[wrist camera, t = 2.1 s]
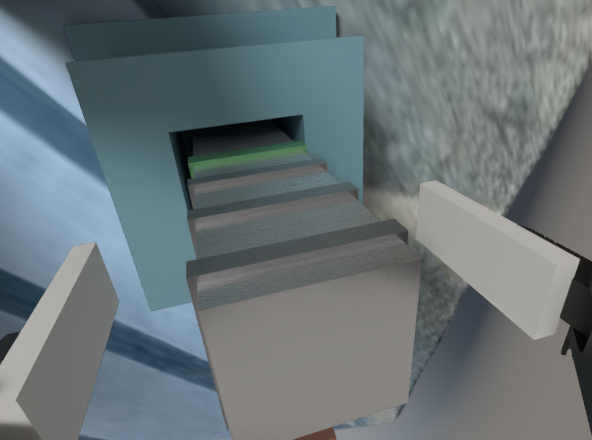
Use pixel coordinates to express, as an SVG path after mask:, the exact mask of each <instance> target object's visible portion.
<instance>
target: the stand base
mask: <svg viewBox="0 0 592 440" xmlns="http://www.w3.org/2000/svg"><path fill="white" fill-rule="evenodd" d="M63 26H64V29H65V32H66V35H67V38H68V41H69V44H70V47H71V50H72V53H73V56H74V59H75V62H68V63H66V66H67V69H68V72H69V75H70V78H71V81H72V84H73V87H74V89H75V92H76V95H77V98H78V101H79V104H80V107H81V110H82V113H83V116H84V118H85V121H86V124H87V127H88V130H89V133H90V136H91V139H92V142H93V145H94V148H95V150H96V153H97V156H98V159H99V162H100V165H101V168H102V171H103V174H104V177H105V179H106V182H107V185H108V188H109V191H110V194H111V197H112V200H113V203H114V206H115V208H116V211H117V214H118V217H119V220H120V223H121V226H122V229H123V232H124V235H125V237H126V240H127V243H128V246H129V249H130V252H131V255H132V258H133V261H134V264H135V266H136V269H137V272H138V275H139V278H140V281H141V284H142V287H143V290H144V293H145V295H146V298H147V301H148V304H149V307H150V310H151V311H155V310H159V309H164V308H168V307H173V306H177V305H181V304H186V303H190V302H192V299H191V295H190V291H189V287H188V284H187V280H186V261H191V260H196V255H195V250H194V246H193V242H192V238H191V234H190V230H189V226H188V222H187V211H188V210H193V206H192V202H191V198H190V193H189V189H188V179H191V174H190V170H189V165H188V157H192V156H193V129H198V128H205V127H213V126H220V125H228V124H235V123H243V122H250V121H258V120H265V119H269V120H270V121H271V122H273V123H274V124H275V125H276V126H277V127H278V128H279V129H280V130H281V131H282V132H284V133H285V134H286V135H287V136H288V137H289V138H290V139H291V140H292V141H300V140H301V141H302V142H303V143H305V144H306V145H307V154H308V155H309V156H310V157H311V158H312V159H317V158H322V159H324V160H325V161H326V162H327V169H328V173H329V174H330V175H331V176H332V177H333V178H334V179H335V180H336V181H337V182H338V183H345V182H351V183H352V184H353V185H355V186H356V187H357V188H358V189H359V202H360V203H361V204H363V115H364V36H351V37H336V6H326V7H312V8H298V9H284V10H270V11H256V12H243V13H229V14H215V15H201V16H187V17H173V18H159V19H146V20H132V21H118V22H104V23H90V24H76V25H63ZM293 440H336V436H335V433H334V430H333V427H330V428H327V429H324V430H321V431H318V432H315V433H312V434H308V435H305V436H302V437H299V438H296V439H293Z"/></svg>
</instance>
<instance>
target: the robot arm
mask: <svg viewBox="0 0 592 440" xmlns="http://www.w3.org/2000/svg"><path fill="white" fill-rule="evenodd" d="M416 239H417V240H418V241H419V242H421V243H422V244H423V245H424V246H425V247H426V248H428V249H429V250H430V251H431V252H432V253H433V254H435V255H436V256H437V257H438V258H439V259H440V260H442V261H443V262H444V263H445V264H446V265H447V266H449V267H450V268H451V269H452V270H453V271H454V272H456V273H457V274H458V275H459V276H460V277H461V278H463V279H464V280H465V281H466V282H467V283H468V284H470V285H471V286H472V287H473V288H474V289H475V290H476V291H478V292H479V293H480V294H481V295H483V297H485V298H486V299H487V300H488V301H489V302H490V303H492V304H493V305H494V306H495V307H496V308H497V309H499V310H500V311H501V312H502V313H503V314H505V315H506V316H507V317H508V318H509V319H510V320H511V321H513V322H514V323H515V324H516V325H517V326H518V327H520V328H521V329H522V330H523V331H524V332H525V333H527V334H528V335H529V336H530V337H531V338H532V339H534V340H536V339H539V338H543V337H546V336H549V335H553V334H555V332H556V329H557V326H558V323H559V320H560V318H561V319H563V320H564V321H565V322H566V323H568V324H569V325H570V327H569V331H568V333H567V336H566V339H565V341H564V344H563V347H562V351H561V354H562V355H566V352H567V350H568V349H570V348H571V351H572V357H573V360H574V364H575V368H576V372H577V376H578V380H579V385H580V389H581V393H582V397H583V401H584V405H585V410H586V413H587V417H588V422H589V426H590V430H591V434H592V261H590V260H588V259H587V258H585V257H583V256H581V255H579V254H577V253H575V252H574V251H572V250H570V249H568V248H566V247H564V246H562V245H560V244H558V243H555V242H554V241H553V240H551V239H549V238H547V237H544V236H543V235H542V234H540V233H538V232H536V231H534V230H532V229H531V228H528V227H524V226H521V225H518V224H515V223H513V222H511V221H509V220H508V219H506V218H504V217H502V216H500V215H498V214H497V213H495V212H493V211H491V210H489V209H487V208H486V207H484V206H482V205H480V204H478V203H476V202H475V201H473V200H471V199H469V198H467V197H465V196H464V195H462V194H460V193H458V192H456V191H455V190H453V189H451V188H449V187H447V186H445V185H444V184H442V183H440V182H438V181H431V182H425V183H420V195H419V207H418V218H417V230H416ZM118 304H119V300H118V298H117V295H116V293H115V290H114V287H113V285H112V282H111V280H110V277H109V275H108V272H107V269H106V267H105V264H104V262H103V259H102V257H101V254H100V252H99V249H98V246H97V244H96V242H94V243H89V244H83V245H78V246H73V247H72V249H71V251H70V252H69V254H68V255H67V257H66V259H65V260H64V262H63V264H62V265H61V267H60V268H59V270H58V272H57V273H56V275H55V277H54V278H53V280H52V282H51V283H50V285H49V286H48V288H47V290H46V291H45V293H44V295H43V296H42V298H41V299H40V301H39V303H38V304H37V306H36V308H35V309H34V311H33V313H32V314H31V316H30V317H29V319H28V321H27V322H26V324H25V326H24V327H23V329H22V330H21V332H16V333H12V334H7V335H6V336H5V337H4V338H3V339H1V340H0V440H78V438H79V435H80V431H81V428H82V425H83V421H84V418H85V414H86V411H87V408H88V404H89V401H90V398H91V394H92V391H93V388H94V384H95V381H96V377H97V374H98V371H99V367H100V364H101V361H102V357H103V354H104V351H105V347H106V344H107V341H108V337H109V334H110V330H111V327H112V324H113V320H114V317H115V314H116V310H117V307H118Z"/></svg>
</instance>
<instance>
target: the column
mask: <svg viewBox="0 0 592 440" xmlns="http://www.w3.org/2000/svg"><path fill="white" fill-rule="evenodd" d="M188 165H189V170H190V174H191V179H188V189H189V193H190V198H191V202H192V206H193V210H188V211H187V222H188V226H189V230H190V234H191V238H192V242H193V246H194V250H195V255H196V260H191V261H186V280H187V284H188V287H189V291H190V295H191V299H192V302H193V306H194V310H195V313H196V317H197V321H198V324H199V328H200V332H201V335H202V339H203V343H204V346H205V350H206V354H207V358H208V361H209V365H210V369H211V372H212V376H213V380H214V383H215V387H216V391H217V394H218V398H219V402H220V405H221V409H222V413H223V417H224V420H225V424H226V428H227V430H230V433H231V437H232V440H293V439H296V438H299V437H302V436H305V435H308V434H312V433H315V432H318V431H321V430H324V429H327V428H330V427H333V426H337V425H340V424H343V423H346V422H349V421H352V420H355V419H358V418H362V417H365V416H368V415H371V414H374V413H377V412H380V411H383V410H387V409H390V408H393V407H396V406H399V405H402V404H405V403H408V397H409V387H410V377H411V367H412V357H413V347H414V337H415V327H416V317H417V307H418V296H419V286H420V276H421V266H422V258H421V257H420V256H419V255H417V254H416V253H415V252H414V251H413V250H412V249H411V248H410V247H409V246H408V245H407V242H408V230H407V229H406V228H405V227H403V226H402V225H401V224H400V223H399V222H397V221H396V220H395V219H391V220H386V221H380V220H379V219H378V218H377V217H376V216H375V215H374V214H372V213H371V212H370V211H369V210H368V209H367V208H366V207H365V206H364V205H363V204H361V203H360V202H359V189H358V188H357V187H356V186H355V185H353V184H352V183H351V182H345V183H338V182H337V181H336V180H335V179H334V178H333V177H332V176H331V175H330V174H329V173H328V169H327V162H326V161H325V160H324V159H322V158H317V159H312V158H311V157H310V156H309V155H308V154H307V145H306V144H305V143H303V142H302V141H301V140H300V141H292V140H291V139H290V138H289V137H288V136H287V135H286V134H285V133H284V132H282V131H281V130H280V129H279V128H278V127H277V126H276V125H275V124H274V123H273V122H271V121H270V120H269V119H265V120H258V121H250V122H243V123H235V124H228V125H220V126H213V127H205V128H198V129H193V156H192V157H188Z"/></svg>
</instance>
